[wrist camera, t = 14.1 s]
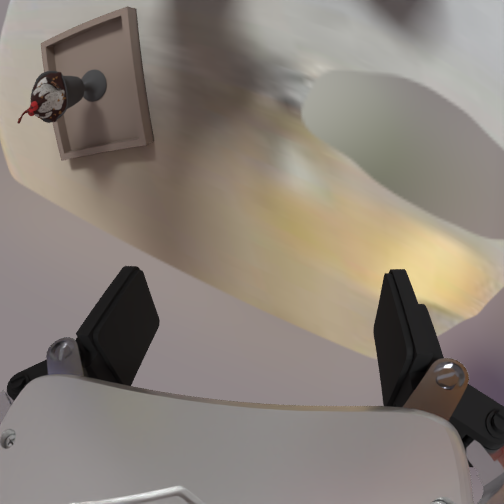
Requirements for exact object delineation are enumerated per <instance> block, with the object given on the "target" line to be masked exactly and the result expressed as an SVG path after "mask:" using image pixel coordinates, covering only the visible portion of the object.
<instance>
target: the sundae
mask: <svg viewBox="0 0 504 504" xmlns="http://www.w3.org/2000/svg"><path fill="white" fill-rule="evenodd" d="M106 86H107V83H106V78H105V76H104V74H103V73H102V72H100V71H99V70H90V71H88V72H87V73H85V74H84V76H83V77H82V79H80V78H79V77H76V76H63V75H62V73H61V72H57V71H46V72H44V73H42V74H41V75H40V76H39V77H38V78H37V80H36V82H35V85H34V87H33V90H32V94H31V105H30V108H29V109H27V110H26V111H25V112H24V113H23V114H22V116H23V115H24V114H25V113H28V114H29V115H30V116H33V115H35V116H37V117H38V118H40V119H42V120H43V121H45V122H48V123H50V122H56V121H57V119H59V118H60V117H61V116H62V115H63V114H64V113H65V112H66V110H67V109H68V108H70V107H72V106H73V105H75V104H76V103H78V102H79V101H80V100H81V99H82V98H83V97H84V98H85V99H86V100H88V101H91V102H94V101H97V100H99V99H100V98H101V97H102V96H103V95H104V93H105V91H106ZM22 116H21V117H20V118H19V120H18V123H20V122H21V119H22Z"/></svg>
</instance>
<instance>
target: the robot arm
mask: <svg viewBox="0 0 504 504" xmlns="http://www.w3.org/2000/svg"><path fill="white" fill-rule="evenodd" d="M158 327H159V317H158V314H157V311H156V308H155V306H154V303H153V300H152V297H151V294H150V291H149V288H148V285H147V282H146V279H145V276H144V273H143V271H141V270H140V269H139V268H138V267H136V266H125V267H123V268H122V270H121V271H120V272H119V274H118V275H117V276H116V278H115V279H114V280H113V282H112V283H111V284H110V286H109V287H108V289H107V290H106V291H105V293H104V294H103V295H102V297H101V298H100V300H99V301H98V303H97V304H96V305H95V307H94V308H93V309H92V311H91V312H90V314H89V315H88V317H87V318H86V320H85V321H84V322H83V324H82V325H81V327H80V328H79V330H78V331H77V333H76V335H77V339H76V340H74V339H73V338H70V337H64V338H61V339H59V340H57V341H55V342H54V343H53V344H52V345H51V346H50V347H49V349H48V351H47V356H46V357H47V360H45V361H43V362H40V363H38V364H36V365H34V366H32V367H30V368H28V369H26V370H23V371H21V372H19V373H17V374H16V375H14V376H13V377H12V378H11V379H10V381H9V382H8V385H7V392H5V391H2V392H0V504H474V501H473V491H472V482H471V475H470V469H469V467H474V468H475V469H476V471H477V472H478V473H479V474H478V475H477V477H478V478H479V479H480V481H481V483H482V485H483V490H484V491H483V495H482V498H481V499H480V501H479V502H478V503H477V504H504V407H503V406H502V405H500V404H499V403H497V402H496V401H494V400H493V399H491V398H489V397H488V396H486V395H485V394H483V393H482V392H480V391H478V390H477V389H475V388H474V387H472V386H470V385H469V384H468V382H469V374H468V372H467V369H466V368H465V367H464V365H463V364H462V363H460V362H459V361H457V360H454V359H451V358H444V357H443V355H442V351H441V348H440V345H439V342H438V339H437V336H436V333H435V330H434V327H433V324H432V321H431V318H430V315H429V313H428V310H427V308H426V306H425V305H424V304H418V302H417V299H416V296H415V293H414V291H413V288H412V285H411V283H410V280H409V277H408V275H407V272H406V270H405V269H391V270H390V271H389V273H385V275H384V279H383V284H382V290H381V295H380V300H379V305H378V310H377V315H376V319H375V324H374V339H375V345H376V352H377V358H378V365H379V372H380V380H381V387H382V395H383V404H384V406H296V405H275V404H260V403H246V402H235V401H225V400H216V399H208V398H200V397H192V396H185V395H179V394H172V393H165V392H160V391H153V390H148V389H142V388H138V387H132V386H131V384H132V382H133V380H134V378H135V375H136V373H137V371H138V369H139V367H140V365H141V363H142V360H143V358H144V356H145V354H146V352H147V350H148V348H149V346H150V344H151V341H152V340H153V337H154V335H155V333H156V331H157V329H158Z"/></svg>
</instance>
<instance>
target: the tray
mask: <svg viewBox="0 0 504 504" xmlns="http://www.w3.org/2000/svg"><path fill="white" fill-rule="evenodd" d="M41 50H42V59H43V67H44V72H46V71H57V72H61V73H62V75H63V76H76V77H79V78H80V79H82V77H83V76H84V74H85V73H87V72H88V71H90V70H99V71H100V72H102V73H103V74H104V76H105V78H106V83H107V86H106V91H105V93H104V95H103V96H102V97H101V98H100V99H99V100H97V101H94V102H91V101H88V100H86V99H85V98H84V97H83V98H82V99H81V100H80V101H79V102H78V103H76V104H75V105H73V106H72V107H70V108H68V109H67V110H66V112H65V113H64V114H63V115H62V116H61V117H60V118H59V119H57V121H56V122H53V126H54V131H55V135H56V140H57V144H58V149H59V153H60V157H61V161H62V160H67V159H71V158H76V157H81V156H86V155H91V154H96V153H102V152H107V151H113V150H119V149H125V148H131V147H138V146H145V145H148V144H149V143H151V142H153V141H154V138H153V132H152V126H151V120H150V114H149V108H148V101H147V95H146V88H145V81H144V74H143V66H142V59H141V51H140V42H139V33H138V23H137V13H136V9H135V8H130V7H125V8H122V9H119V10H116V11H114V12H111V13H108V14H106V15H103V16H100V17H98V18H95V19H93V20H90V21H88V22H85V23H83V24H81V25H78V26H76V27H74V28H72V29H69V30H67V31H65V32H63V33H61V34H59V35H57V36H55V37H53V38H51V39H49V40H47V41H45V42H43V43H41Z"/></svg>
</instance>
